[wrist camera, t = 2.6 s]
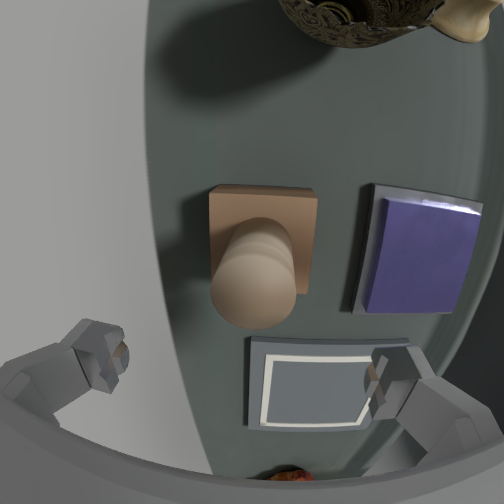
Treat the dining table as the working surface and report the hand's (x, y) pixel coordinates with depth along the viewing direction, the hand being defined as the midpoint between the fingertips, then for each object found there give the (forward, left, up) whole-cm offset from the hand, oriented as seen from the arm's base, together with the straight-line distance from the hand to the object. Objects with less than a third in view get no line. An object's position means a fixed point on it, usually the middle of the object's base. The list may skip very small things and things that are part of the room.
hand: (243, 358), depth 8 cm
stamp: (-1, 0, -11) cm, 11 cm away
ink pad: (-6, +9, -11) cm, 15 cm away
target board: (+8, +13, -11) cm, 19 cm away
